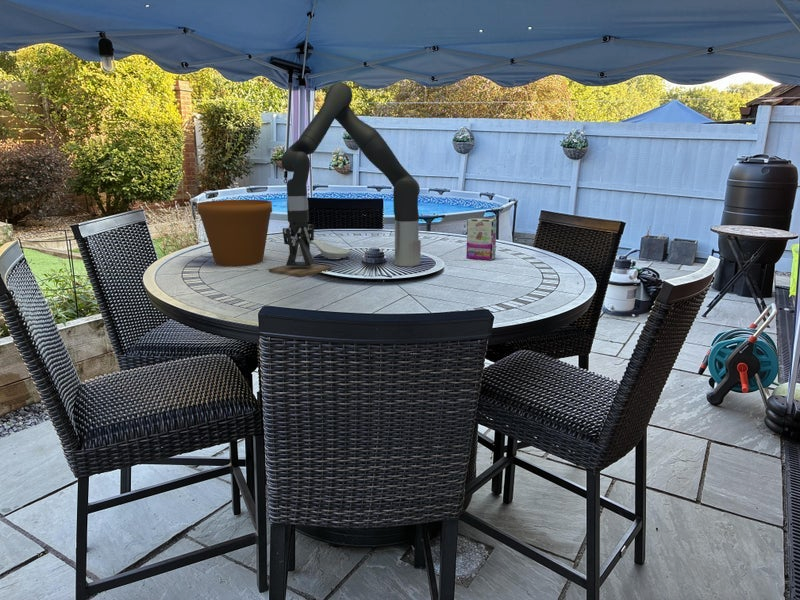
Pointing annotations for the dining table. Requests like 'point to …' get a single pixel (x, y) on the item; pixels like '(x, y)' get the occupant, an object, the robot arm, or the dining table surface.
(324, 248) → the spoon rest
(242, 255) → the flowerpot
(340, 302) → the dining table surface
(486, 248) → the candy bar box
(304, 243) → the phone stand
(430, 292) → the dining table surface
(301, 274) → the walnut board
